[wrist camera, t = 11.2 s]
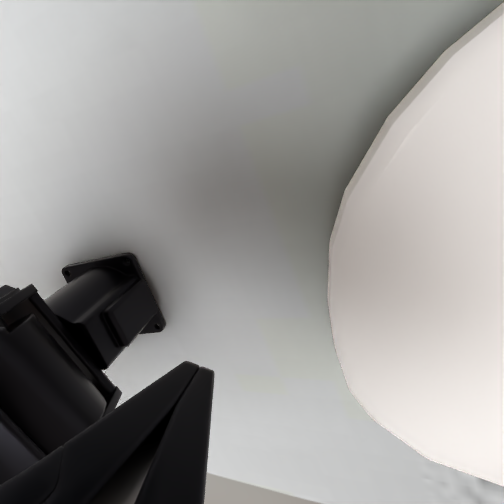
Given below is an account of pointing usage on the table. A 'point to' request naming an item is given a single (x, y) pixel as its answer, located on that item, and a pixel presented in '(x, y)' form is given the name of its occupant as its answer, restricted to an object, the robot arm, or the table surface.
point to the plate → (431, 263)
